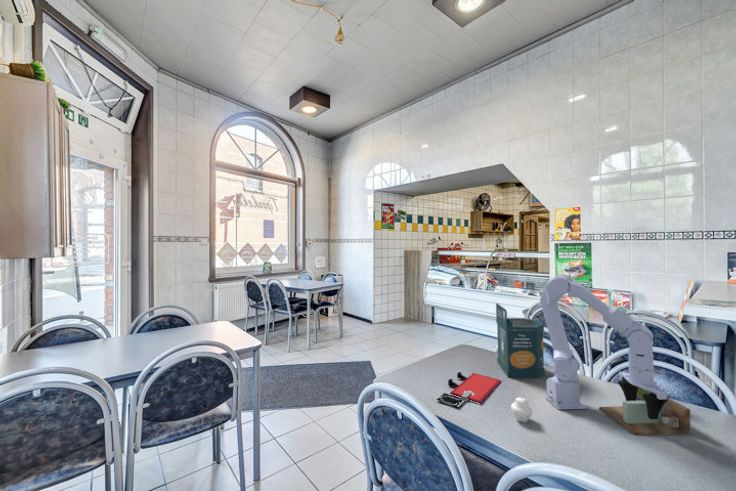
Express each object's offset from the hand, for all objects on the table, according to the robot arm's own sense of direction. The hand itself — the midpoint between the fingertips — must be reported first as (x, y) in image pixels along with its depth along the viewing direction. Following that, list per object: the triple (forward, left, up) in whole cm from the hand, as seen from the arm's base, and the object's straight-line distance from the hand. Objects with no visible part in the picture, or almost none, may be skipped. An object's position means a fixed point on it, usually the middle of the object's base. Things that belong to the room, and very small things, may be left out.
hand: (641, 411), depth 96 cm
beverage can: (+12, +13, -4) cm, 18 cm away
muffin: (-34, +4, -4) cm, 35 cm away
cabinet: (+2, +2, -4) cm, 5 cm away
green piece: (0, 0, -3) cm, 3 cm away
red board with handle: (-45, +24, -5) cm, 52 cm away
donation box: (-16, +42, -4) cm, 45 cm away
